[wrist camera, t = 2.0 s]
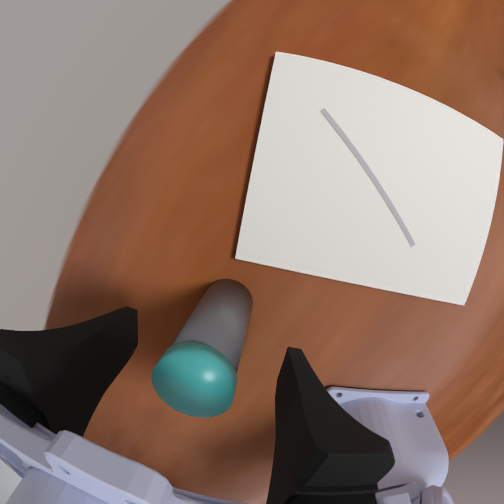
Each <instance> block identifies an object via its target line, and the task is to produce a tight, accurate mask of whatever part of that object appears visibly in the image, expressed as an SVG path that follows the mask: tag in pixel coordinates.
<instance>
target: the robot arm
mask: <svg viewBox="0 0 504 504" xmlns="http://www.w3.org/2000/svg"><path fill="white" fill-rule="evenodd" d="M137 345H138V325H137V310H136V309H132V308H129V307H124V308H121V309H118V310H115V311H113V312H110V313H107V314H105V315H102V316H99V317H97V318H94V319H91V320H88V321H85V322H82V323H79V324H75V325H72V326H67V327H63V328H58V329H50V330H42V331H14V330H4V329H1V330H0V459H1V460H2V461H3V462H5V463H6V464H7V465H8V466H9V467H10V468H11V469H12V470H13V471H15V472H16V473H17V474H18V475H19V476H20V477H22V478H23V479H22V480H21V482H20V483H19V485H18V486H17V487H16V489H15V490H14V492H13V493H12V495H11V496H10V498H9V499H8V501H7V502H6V504H247V503H240V502H234V501H228V500H223V499H218V498H213V497H208V496H204V495H200V494H196V493H192V492H188V491H184V490H181V489H177V488H174V487H172V486H171V484H170V483H169V481H168V480H167V478H166V477H164V476H163V475H161V474H160V473H158V472H157V471H156V470H154V469H151V468H149V467H147V466H145V465H143V464H141V463H138V462H136V461H133V460H131V459H128V458H126V457H123V456H121V455H119V454H116V453H114V452H112V451H110V450H107V449H105V448H103V447H101V446H99V445H97V444H95V443H93V442H91V441H89V440H87V439H85V438H83V435H84V432H85V430H86V428H87V425H88V423H89V421H90V419H91V417H92V415H93V413H94V411H95V409H96V407H97V405H98V403H99V401H100V400H101V398H102V396H103V394H104V393H105V391H106V390H107V388H108V387H109V386H110V384H111V383H112V382H113V381H114V379H115V378H116V377H117V375H118V374H119V373H120V371H121V370H122V369H123V367H124V366H125V365H126V363H127V362H128V361H129V359H130V358H131V356H132V354H133V352H134V350H135V349H136V347H137ZM337 393H340V394H337ZM429 397H430V395H429V393H428V392H408V391H381V390H365V389H353V388H342V387H330V388H328V389H327V390H326V389H325V387H324V386H323V385H322V383H321V382H320V380H319V379H318V377H317V376H316V374H315V372H314V371H313V369H312V368H311V366H310V364H309V362H308V360H307V359H306V357H305V355H304V353H303V351H302V350H301V349H298V348H292V347H288V348H287V352H286V355H285V358H284V361H283V364H282V367H281V370H280V373H279V376H278V379H277V386H276V395H275V419H276V441H275V451H274V460H273V467H272V474H271V480H270V486H269V492H268V497H267V502H266V504H454V502H453V500H452V498H451V496H450V494H449V493H448V491H447V490H446V489H445V488H443V487H441V485H442V484H443V482H444V481H445V478H446V475H447V471H448V453H447V449H446V447H445V444H444V442H443V440H442V438H441V436H440V433H439V431H438V429H437V427H436V425H435V423H434V420H433V418H432V416H431V414H430V412H429V410H428V408H427V406H426V404H425V403H426V402H427V400H428V399H429Z"/></svg>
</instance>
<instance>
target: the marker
mask: <svg viewBox="0 0 504 504" xmlns="http://www.w3.org/2000/svg"><path fill="white" fill-rule="evenodd" d="M252 305H253V301H252V297H251V294H250V292H249V291H248V289H247V288H246V287H245V286H244V285H243V284H241V283H239V282H237V281H235V280H231V279H222V280H218V281H216V282H214V283H212V284H211V285H210V286H209V287H208V289H207V290H206V292H205V293H204V295H203V296H202V298H201V300H200V301H199V303H198V304H197V306H196V307H195V309H194V311H193V312H192V314H191V315H190V317H189V318H188V320H187V322H186V323H185V325H184V326H183V328H182V330H181V331H180V333H179V334H178V336H177V337H176V339H175V341H174V342H173V344H172V345H171V347H169V348H168V349H167V350H166V351H165V352H164V353H163V355H162V357H161V358H160V360H159V361H158V363H157V364H156V366H155V368H154V370H153V372H152V383H153V386H154V389H155V391H156V392H157V394H158V395H159V396H160V398H161V399H162V400H163V401H164V402H165V403H167V404H168V405H169V406H171V407H172V408H174V409H175V410H177V411H179V412H182V413H184V414H187V415H190V416H195V417H213V416H217V415H220V414H222V413H224V412H225V411H226V410H228V408H229V407H230V406H231V404H232V401H233V397H234V393H235V388H236V384H237V375H236V373H237V369H238V365H239V361H240V357H241V353H242V348H243V344H244V340H245V336H246V332H247V327H248V323H249V319H250V314H251V310H252Z"/></svg>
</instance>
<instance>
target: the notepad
mask: <svg viewBox="0 0 504 504" xmlns="http://www.w3.org/2000/svg"><path fill="white" fill-rule="evenodd" d="M502 150H503V139H502V138H501V137H499V136H498V135H496V134H495V133H493V132H491V131H490V130H488V129H487V128H485V127H484V126H482V125H480V124H479V123H477V122H475V121H474V120H472V119H470V118H468V117H467V116H465V115H463V114H461V113H459V112H457V111H456V110H454V109H452V108H450V107H448V106H446V105H444V104H442V103H440V102H438V101H436V100H434V99H432V98H429V97H427V96H425V95H423V94H421V93H418V92H416V91H414V90H411V89H409V88H406V87H404V86H402V85H399V84H396V83H394V82H391V81H388V80H386V79H383V78H380V77H377V76H374V75H371V74H368V73H365V72H362V71H359V70H356V69H352V68H349V67H345V66H342V65H338V64H334V63H330V62H326V61H322V60H318V59H313V58H309V57H304V56H299V55H293V54H288V53H282V52H276V54H275V58H274V63H273V68H272V72H271V77H270V82H269V87H268V92H267V96H266V101H265V106H264V111H263V116H262V121H261V126H260V131H259V135H258V140H257V146H256V151H255V156H254V161H253V166H252V171H251V176H250V181H249V186H248V192H247V197H246V202H245V207H244V213H243V218H242V223H241V229H240V234H239V239H238V245H237V250H236V256H235V259H240V260H244V261H249V262H253V263H258V264H263V265H267V266H272V267H277V268H281V269H286V270H291V271H296V272H300V273H305V274H310V275H315V276H320V277H324V278H329V279H334V280H339V281H344V282H348V283H353V284H358V285H363V286H368V287H373V288H378V289H383V290H388V291H393V292H398V293H403V294H408V295H413V296H418V297H423V298H428V299H433V300H438V301H443V302H449V303H454V304H459V305H465V302H466V300H467V297H468V295H469V292H470V290H471V287H472V284H473V281H474V279H475V276H476V273H477V270H478V267H479V264H480V261H481V257H482V254H483V251H484V247H485V244H486V240H487V236H488V233H489V229H490V224H491V220H492V216H493V211H494V206H495V201H496V196H497V190H498V184H499V177H500V169H501V161H502Z"/></svg>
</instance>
